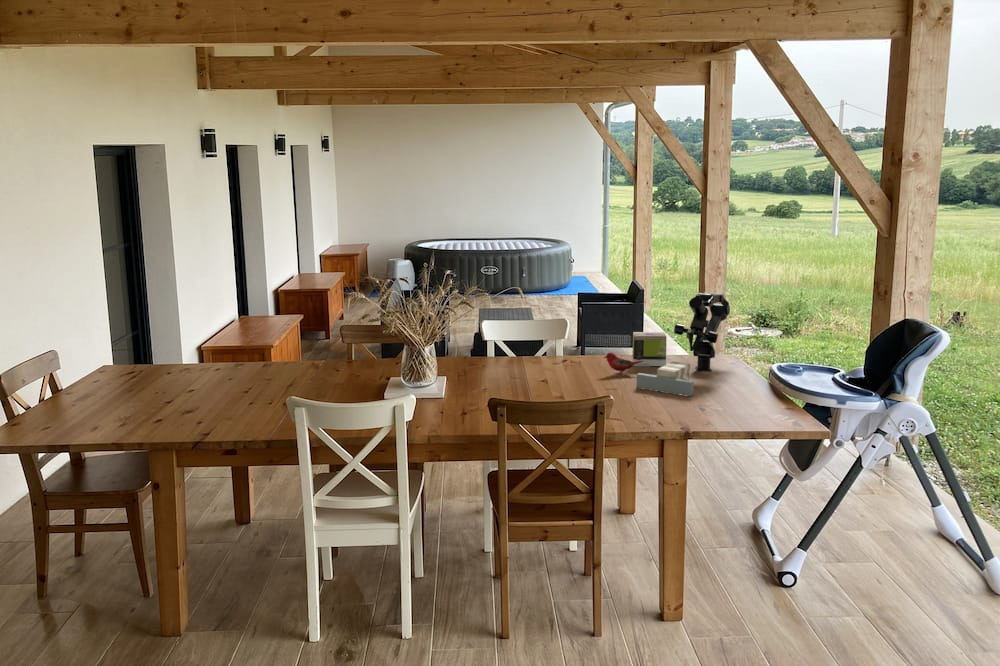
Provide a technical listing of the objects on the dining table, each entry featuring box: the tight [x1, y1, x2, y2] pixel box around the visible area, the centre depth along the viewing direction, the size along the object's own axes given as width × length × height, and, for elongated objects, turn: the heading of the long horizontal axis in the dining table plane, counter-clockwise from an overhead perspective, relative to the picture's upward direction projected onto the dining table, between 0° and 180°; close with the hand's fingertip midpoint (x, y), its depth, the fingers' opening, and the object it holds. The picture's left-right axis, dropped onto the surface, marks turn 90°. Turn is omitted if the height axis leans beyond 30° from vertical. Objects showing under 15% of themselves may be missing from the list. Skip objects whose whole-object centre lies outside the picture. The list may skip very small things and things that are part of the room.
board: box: [636, 372, 694, 397], centre depth 362 cm, size 2×24×6 cm, turn 56°
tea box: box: [632, 331, 667, 368], centre depth 407 cm, size 15×10×15 cm
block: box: [656, 361, 691, 381], centre depth 369 cm, size 16×8×9 cm, turn 146°
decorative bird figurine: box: [604, 352, 643, 375], centre depth 389 cm, size 3×18×10 cm, turn 92°
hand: (691, 350), depth 381 cm, fingers closed
